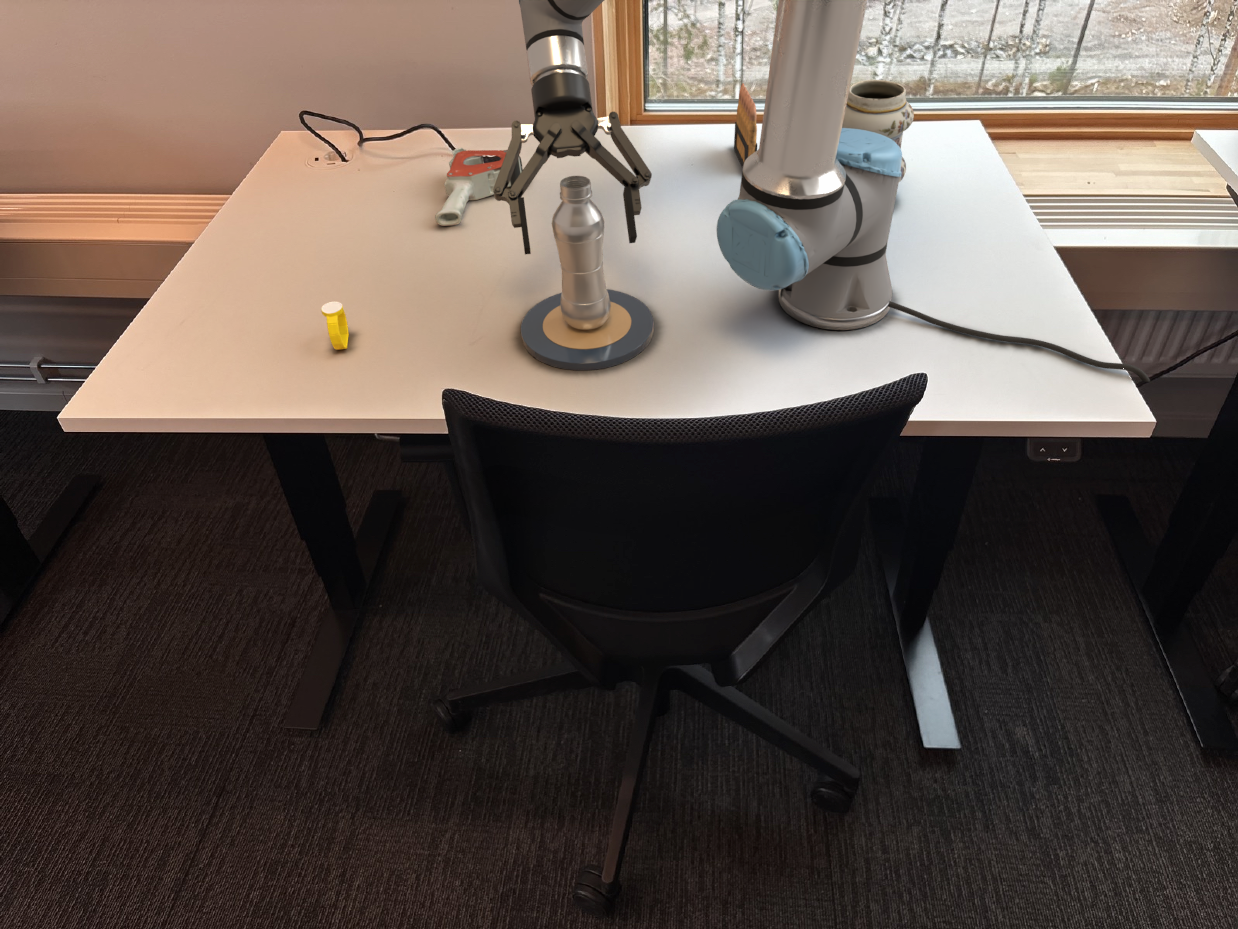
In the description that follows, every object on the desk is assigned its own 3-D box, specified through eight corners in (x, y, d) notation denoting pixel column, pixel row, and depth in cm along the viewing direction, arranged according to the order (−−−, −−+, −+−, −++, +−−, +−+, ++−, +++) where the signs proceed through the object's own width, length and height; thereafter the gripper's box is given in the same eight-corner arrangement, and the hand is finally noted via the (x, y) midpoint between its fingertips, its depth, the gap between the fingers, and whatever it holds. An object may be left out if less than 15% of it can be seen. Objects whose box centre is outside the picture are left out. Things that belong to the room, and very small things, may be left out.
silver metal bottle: (606, 337, 118) (597, 195, 104) (556, 333, 119) (541, 192, 106) (616, 311, 123) (608, 171, 109) (568, 307, 124) (555, 169, 110)
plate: (679, 320, 123) (679, 312, 122) (598, 387, 112) (597, 379, 112) (578, 282, 131) (577, 274, 130) (494, 341, 121) (492, 333, 120)
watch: (335, 332, 124) (323, 295, 120) (355, 330, 124) (344, 293, 120) (330, 357, 120) (318, 319, 116) (351, 355, 120) (340, 317, 116)
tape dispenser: (445, 240, 145) (549, 197, 152) (438, 211, 141) (545, 168, 148) (399, 197, 155) (499, 158, 162) (391, 168, 152) (494, 130, 158)
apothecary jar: (823, 183, 151) (836, 73, 139) (897, 185, 149) (916, 74, 137) (824, 217, 142) (838, 103, 130) (902, 220, 141) (923, 104, 128)
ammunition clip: (733, 149, 163) (736, 81, 155) (743, 148, 163) (747, 80, 155) (745, 174, 155) (749, 104, 147) (756, 173, 155) (760, 103, 147)
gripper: (652, 88, 120) (672, 243, 119) (465, 105, 118) (485, 263, 117) (658, 60, 112) (680, 226, 112) (459, 78, 110) (480, 247, 110)
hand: (580, 245), depth 114 cm, fingers open, 13 cm apart
